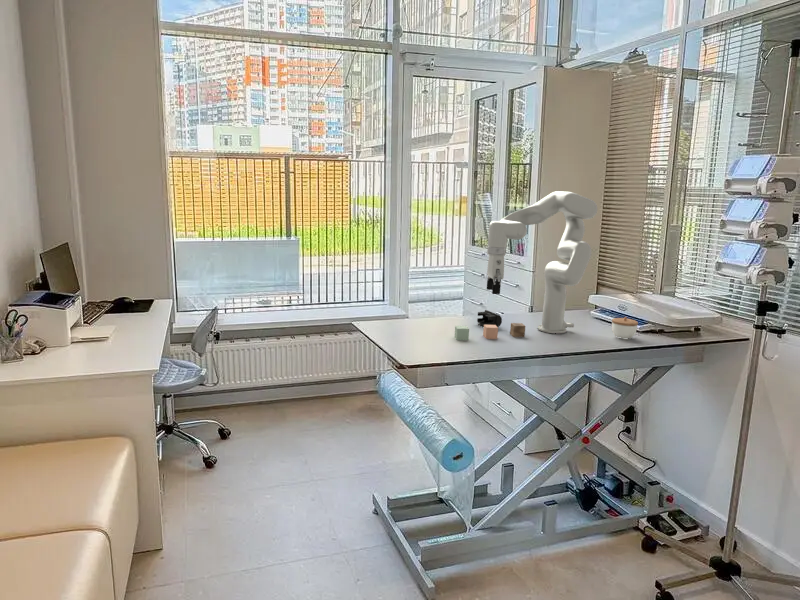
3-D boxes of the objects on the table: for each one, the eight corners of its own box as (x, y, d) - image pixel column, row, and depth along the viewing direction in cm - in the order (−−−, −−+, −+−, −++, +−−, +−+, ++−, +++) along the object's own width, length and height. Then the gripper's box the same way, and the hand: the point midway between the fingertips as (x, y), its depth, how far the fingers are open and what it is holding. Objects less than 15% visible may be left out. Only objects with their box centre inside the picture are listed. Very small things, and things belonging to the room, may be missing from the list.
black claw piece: (501, 328, 270) (502, 314, 268) (488, 329, 267) (489, 315, 265) (489, 323, 278) (490, 309, 277) (476, 324, 275) (477, 310, 274)
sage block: (466, 337, 252) (466, 325, 251) (468, 340, 247) (469, 328, 246) (454, 337, 252) (455, 325, 251) (456, 340, 247) (457, 328, 246)
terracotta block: (494, 336, 256) (495, 324, 255) (497, 339, 251) (498, 327, 250) (482, 335, 256) (483, 324, 255) (485, 338, 251) (486, 327, 250)
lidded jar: (616, 340, 258) (619, 319, 256) (606, 334, 268) (608, 314, 266) (640, 341, 259) (643, 320, 257) (628, 334, 269) (631, 314, 267)
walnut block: (521, 334, 261) (522, 323, 260) (524, 337, 257) (525, 326, 256) (510, 334, 261) (510, 323, 260) (513, 337, 256) (514, 325, 255)
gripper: (511, 254, 238) (507, 296, 241) (500, 249, 255) (496, 288, 258) (492, 253, 237) (489, 295, 241) (482, 248, 254) (479, 287, 258)
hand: (493, 291), depth 250 cm, fingers open, 9 cm apart
